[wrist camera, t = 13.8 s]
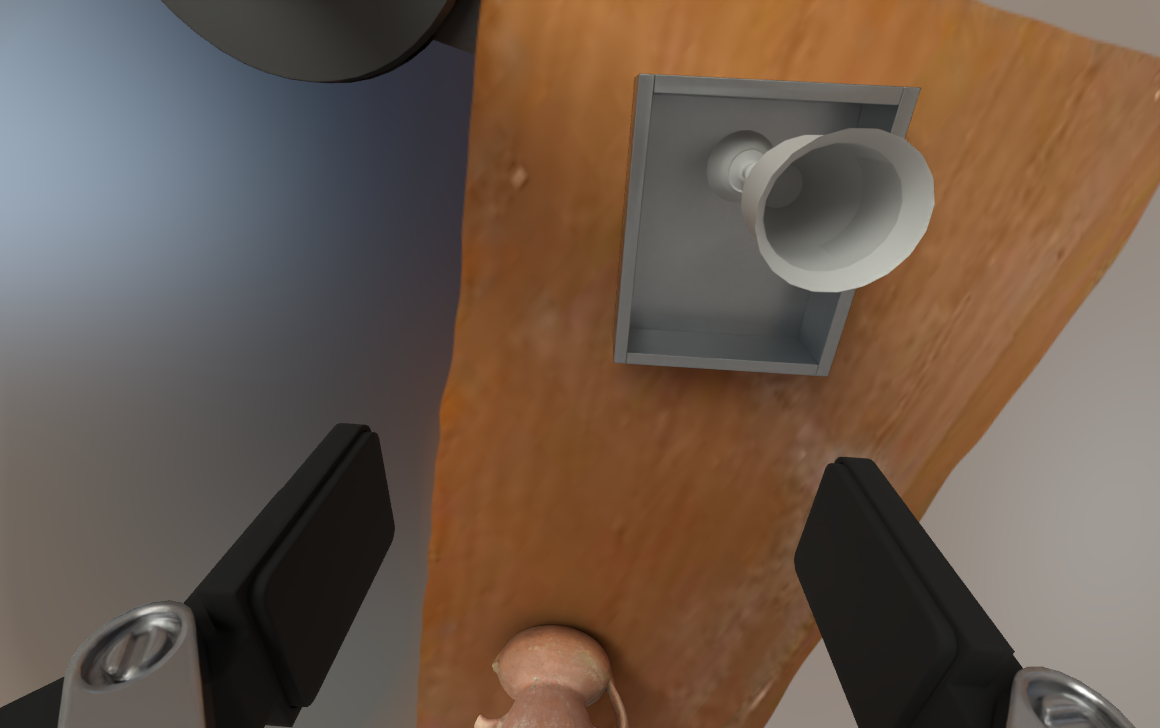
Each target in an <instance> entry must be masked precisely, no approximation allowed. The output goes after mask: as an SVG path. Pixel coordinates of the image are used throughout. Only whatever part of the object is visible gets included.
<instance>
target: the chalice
mask: <svg viewBox="0 0 1160 728" xmlns="http://www.w3.org/2000/svg"><path fill="white" fill-rule="evenodd" d="M706 174H707V179H708V183H709V185H710V187H711V189H712V190H713V192H714V193H715V194H716V195H718V196H719V197H720V198H721V199H724V200H727V201H729V202H741V209H742V214H743V218H744V223H745V225H746V226H747V228H748V229H749V231H750V232H751V234H752V235H753V237H754V238H755V239H756V240H757V241H758V245H759V250H760V253H761V254H762V256H763V257H764V259H765V260H766V262H767V263H768V265H769V267H770V268H771V270H772V271H773V272H775V273H776V274H777V275H779V276H780V277H781V278H783V279H784V280H785V281H787V282H788V283H789V284H791V285H794V286H797V287H800V288H803V289H806V290H810V291H813V292H841V291H845V290H850V289H854V288H858V287H863V286H865V285H867V284H869V283H871V282H873V281H875V280H877V279H879V278H881V277H883V276H885V275H887V274H889V273H890V272H891V271H892V270H893V269H894V268H895V267H897V266H898V265H899V264H900V263H901V262H902V261H904V260H905V259H906V258H907V257H908V256H909V255H910V254H911V253H912V251H913V250H914V248H915V247H916V245H917V244H918V242H919V241H920V239H921V238H922V237H923V235H924V234H925V232H926V230H927V227H928V224H929V221H930V217H931V214H932V211H933V208H934V182H933V176H932V174H931V172H930V170H929V168H928V165H927V163H926V161H925V159H924V157H923V155H922V154H921V153H920V152H919V151H918V150H917V149H915V148H914V147H913V146H912V145H911V144H910V143H909V142H908V141H906V140H905V139H904V138H902V137H900V136H897V135H894V134H891V133H889V132H886V131H883V130H880V129H868V128H848V129H845V130H841V131H837V132H834V133H830V134H827V135H803V136H799V137H796V138H792V139H789V140H785V141H783V142H782V143H780V144H779V145H777V146H776V147H774V148H773V146H772V144H771V142H770V141H769V140H768V139H767V138H766V137H765V136H764V135H762V134H760V133H758V132H755V131H752V130H740V131H737V132H734V133H731V134H729V135H728V136H726V137H725V138H723V139H722V140H720V141H719V143H718V144H717V145H716V146H715V148H714V149H713V150H712V152H711V155H710V157H709V159H708V162H707V171H706Z"/></svg>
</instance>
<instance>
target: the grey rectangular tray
mask: <svg viewBox="0 0 1160 728" xmlns="http://www.w3.org/2000/svg"><path fill="white" fill-rule="evenodd" d="M920 90H921V88H919V87H899V86H879V85H859V84H839V83H819V82H799V81H779V80H760V79H740V78H720V77H700V76H680V75H660V74H656V75H654V74H639V75H637V76H636V77H635V80H634V92H633V104H632V115H631V127H630V139H629V151H628V163H627V174H626V186H625V198H624V210H623V222H622V234H621V245H620V257H619V269H618V281H617V293H616V304H615V316H614V328H613V360H614V363H626V364H639V365H655V366H670V367H686V368H702V369H718V370H733V371H749V372H765V373H781V374H796V375H812V376H815V375H816V376H828V374H829V371H830V368H831V365H832V362H833V359H834V356H835V353H836V349H837V346H838V343H839V340H840V337H841V334H842V331H843V328H844V325H845V322H846V319H847V315H848V312H849V309H850V306H851V303H852V300H853V297H854V294H855V291H856V288H854V289H850V290H845V291H841V292H813V291H810V290H806V289H803V288H800V287H797V286H794V285H791V284H789V283H788V282H787V281H785V280H784V279H783V278H781V277H780V276H779V275H777V274H776V273H775V272H773V271H772V270H771V268H770V267H769V265H768V263H767V262H766V260H765V259H764V257H763V256H762V254H761V253H760V250H759V245H758V241H757V240H756V239H755V238H754V237H753V235H752V234H751V232H750V231H749V229H748V228H747V226H746V225H745V223H744V218H743V214H742V209H741V202H729V201H727V200H724V199H721V198H720V197H719V196H718V195H716V194H715V193H714V192H713V190H712V189H711V187H710V185H709V183H708V179H707V174H706V171H707V162H708V159H709V157H710V155H711V152H712V150H713V149H714V148H715V146H716V145H717V144H718V143H719V141H720V140H722V139H723V138H725V137H726V136H728V135H729V134H731V133H734V132H737V131H740V130H752V131H755V132H758V133H760V134H762V135H764V136H765V137H766V138H767V139H768V140H769V141H770V142H771V144H772V146H773V148H774V147H776V146H777V145H779V144H780V143H782V142H783V141H785V140H789V139H792V138H796V137H799V136H803V135H827V134H830V133H834V132H837V131H841V130H845V129H848V128H868V129H880V130H883V131H886V132H889V133H891V134H894V135H897V136H900V137H902V138H904V139H905V136H906V133H907V130H908V127H909V124H910V121H911V118H912V115H913V112H914V108H915V105H916V102H917V99H918V96H919V93H920Z"/></svg>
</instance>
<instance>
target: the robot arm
mask: <svg viewBox="0 0 1160 728" xmlns="http://www.w3.org/2000/svg"><path fill="white" fill-rule="evenodd" d="M394 531H395V525H394V519H393V513H392V508H391V503H390V497H389V491H388V485H387V480H386V474H385V469H384V464H383V458H382V452H381V446H380V441H379V437H378V435H377V433H375V432H371V430H370V428H369V426H367V425H360V424H346V423H339V424H337V425H336V426H335V427H334V428H333V429H332V430H331V431H330V432H329V434H328V435H327V436H326V437H325V438H324V440H323V441H322V442H321V443H320V444H319V445H318V447H317V448H316V449H315V450H314V451H313V452H312V454H311V455H310V456H309V457H308V458H307V460H306V461H305V462H304V463H303V464H302V466H301V467H300V468H299V469H298V470H297V471H296V473H295V474H294V475H293V476H292V478H291V479H290V480H289V481H288V482H287V483H286V485H285V486H284V487H283V488H282V489H281V490H280V491H278V492H277V494H276V495H275V496H274V497H273V498H272V499H271V501H270V502H269V503H268V504H267V505H266V507H265V508H264V509H263V510H262V511H261V512H260V514H259V515H258V516H257V517H256V518H255V520H254V521H253V522H252V523H251V524H250V525H249V527H248V528H247V529H246V530H245V531H244V533H243V534H242V535H241V536H240V537H239V538H238V540H237V541H236V542H235V543H234V544H233V545H232V547H231V548H230V549H229V550H228V552H227V553H226V554H225V555H224V556H223V557H222V559H221V560H220V561H219V562H218V563H217V564H216V566H215V567H214V568H213V569H212V570H211V572H210V573H209V574H208V575H207V576H206V577H205V579H204V580H203V581H202V582H201V583H200V584H199V586H198V587H197V588H196V589H195V590H194V592H193V593H192V594H191V595H190V596H189V598H188V599H187V600H186V601H185V602H184V603H181V602H175V601H160V602H153V603H150V604H146V605H143V606H140V607H137V608H134V609H132V610H130V611H128V612H126V613H124V614H122V615H120V616H118V617H116V618H114V619H113V620H111V621H110V622H108V623H107V624H105V625H104V626H102V627H101V628H99V629H98V630H97V631H96V632H94V633H93V634H92V635H91V636H90V637H89V638H88V639H87V640H86V641H85V642H84V643H83V644H82V645H81V646H80V647H79V649H78V650H77V652H76V653H75V654H74V656H73V657H72V658H71V660H70V662H69V665H68V667H67V670H66V673H65V676H64V677H62V678H60V679H58V680H56V681H54V682H52V683H50V684H48V685H46V686H44V687H42V688H40V689H38V690H36V691H34V692H32V693H30V694H28V695H26V696H23V697H21V698H19V699H17V700H15V701H13V702H11V703H9V704H7V705H5V706H3V707H1V708H0V728H264V727H265V725H271V726H283V727H292V726H293V724H294V722H295V720H296V718H297V716H298V714H299V712H300V710H301V708H302V707H308V706H309V705H311V703H312V702H313V701H314V699H315V698H316V696H317V694H318V692H319V690H320V688H321V686H322V684H323V682H324V680H325V678H326V675H327V673H328V671H329V669H330V667H331V665H332V663H333V661H334V659H335V657H336V655H337V653H338V651H339V649H340V647H341V645H342V643H343V641H344V638H345V637H346V635H347V633H348V631H349V629H350V627H351V625H352V623H353V621H354V618H355V616H356V614H357V612H358V610H359V608H360V606H361V604H362V602H363V600H364V598H365V596H366V594H367V592H368V590H369V588H370V586H371V583H372V582H373V580H374V577H375V576H376V574H377V572H378V570H379V567H380V565H381V563H382V561H383V559H384V557H385V555H386V553H387V551H388V549H389V547H390V545H391V543H392V540H393V537H394ZM794 563H795V570H796V573H797V576H798V578H799V581H800V583H801V586H802V588H803V591H804V593H805V596H806V598H807V601H808V603H809V606H810V608H811V610H812V613H813V615H814V618H815V620H816V623H817V625H818V628H819V630H820V633H821V635H822V638H823V640H824V643H825V645H826V648H827V650H828V652H829V655H830V658H831V660H832V663H833V665H834V667H835V670H836V673H837V675H838V678H839V680H840V682H841V685H842V688H843V690H844V693H845V695H846V698H847V700H848V703H849V705H850V708H851V710H852V712H853V715H854V718H855V720H856V723H857V725H858V728H1135V727H1134V726H1133V725H1132V723H1131V722H1130V721H1129V720H1128V719H1127V718H1126V717H1125V716H1124V715H1123V714H1122V713H1121V711H1120V710H1119V709H1117V708H1116V707H1115V706H1114V705H1113V704H1112V703H1110V702H1109V701H1108V700H1107V699H1105V698H1104V697H1103V696H1102V695H1101V694H1099V693H1098V692H1096V691H1095V690H1093V689H1092V688H1090V687H1089V686H1087V685H1085V684H1084V683H1082V682H1081V681H1079V680H1077V679H1075V678H1073V677H1070V676H1068V675H1066V674H1064V673H1062V672H1060V671H1056V670H1052V669H1049V668H1045V667H1026V668H1024V669H1023V668H1022V666H1021V665H1020V664H1019V662H1018V661H1017V660H1016V658H1015V657H1014V656H1013V653H1014V652H1015V651H1014V650H1013V649H1012V648H1011V646H1010V645H1009V644H1008V642H1007V641H1006V639H1005V638H1004V637H1003V635H1002V634H1001V633H1000V631H999V630H998V629H997V627H996V626H995V625H994V623H993V622H992V620H991V619H990V618H989V616H988V615H987V614H986V612H985V611H984V610H983V608H982V607H981V606H980V604H979V603H978V602H977V600H976V599H975V598H974V596H973V595H972V594H971V592H970V591H969V589H968V588H967V587H966V585H965V584H964V583H963V581H962V580H961V579H960V577H959V576H958V575H957V573H956V572H955V571H954V569H953V568H952V566H951V565H950V564H949V562H948V561H947V560H946V558H945V557H944V556H943V554H942V553H941V552H940V550H939V549H938V548H937V546H936V545H935V544H934V542H933V541H932V539H931V538H930V537H929V535H928V534H927V533H926V532H925V530H924V529H923V527H922V526H921V525H920V523H919V522H918V521H917V519H916V518H915V517H914V515H913V514H912V513H911V511H910V510H909V508H908V507H907V506H906V504H905V503H904V502H903V500H902V499H901V498H900V496H899V495H898V494H897V492H896V491H895V490H894V488H893V487H892V486H891V484H890V483H889V481H888V480H887V479H886V477H885V476H884V475H883V473H882V472H881V471H880V469H879V468H878V467H877V465H876V464H875V463H874V462H873V461H872V460H870V459H867V458H852V457H839V458H837V459H836V460H835V462H834V463H830V464H828V465H827V467H826V469H825V471H824V474H823V477H822V480H821V483H820V485H819V488H818V491H817V494H816V497H815V499H814V502H813V505H812V508H811V510H810V513H809V516H808V519H807V522H806V524H805V527H804V530H803V533H802V536H801V538H800V541H799V544H798V547H797V550H796V552H795V558H794Z"/></svg>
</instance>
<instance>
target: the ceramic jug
mask: <svg viewBox="0 0 1160 728" xmlns="http://www.w3.org/2000/svg"><path fill="white" fill-rule="evenodd" d="M492 667H493V669H494V671H495V672H496V673H497V674H498V678H499V681H500V683H501V685H502V687H503V688H504V690H505V691H506V692H507V693H508V694H509V695H510V697H512V698H513V699H514V700H515V702H514V704H513V706H512V707H511V709H510V711H509V712H508V713H507V714H506V715H503V716H501V717H499V718H496V719H488V718H485V717H484V716H483V715H482V714H480V715H479V717H478V718H477V720H476V723H475V725H474V727H475V728H597V727H595V726H594V725H593V724H592V723H591V720H590V717H589V714H588V712H587V709H586V707H588V706H590V705H591V704H593V703H594V702H596V701H597V700H598V699H599V698H600V697H601V696H602V695H603V694H604V692H605V691H607V692H608V694H609V696H610V699H611V702H612V704H613V708H614V710H615V714H616V720H617V728H629V725H628V718H627V714H626V710H625V707H624V705H623V702H622V700H621V698H620V696H619V694H618V692H617V690H616V687H615V681H614V677H613V674H612V671H611V666H610V662H609V659H608V656H607V654H606V652H605V651H604V649H603V648H602V646H601V645H600V644H599V643H598V642H597V641H596V640H594V639H593V638H592V637H590V636H589V635H587V634H585V633H583V632H581V631H579V630H576V629H574V628H571V627H567V626H561V625H542V626H535V627H531V628H528V629H526V630H523V631H521V632H519V633H518V634H516V635H515V636H514V637H512V638H511V639H510V640H509V641H508V642H507V644H506V645H505V646H504V648H503V649H502V650H501V652H500V653H499V654H498V656H497V657H496V658H495V660H494V662H493V665H492Z"/></svg>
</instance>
